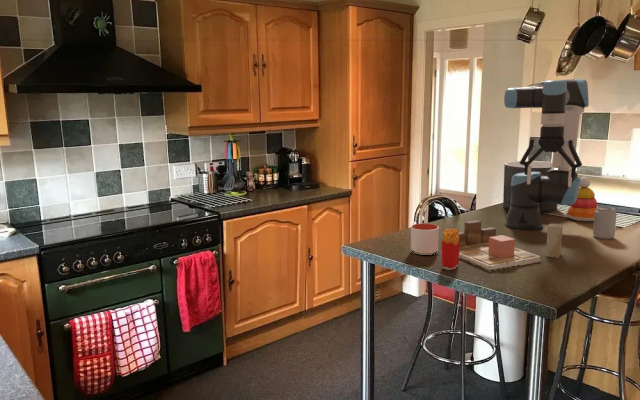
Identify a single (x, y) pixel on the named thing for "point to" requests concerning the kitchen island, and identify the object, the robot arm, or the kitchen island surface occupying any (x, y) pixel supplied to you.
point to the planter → (516, 168)
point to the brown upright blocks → (479, 239)
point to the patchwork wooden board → (485, 240)
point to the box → (554, 240)
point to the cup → (424, 238)
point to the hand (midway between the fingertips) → (548, 185)
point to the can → (604, 223)
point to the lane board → (504, 264)
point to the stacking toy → (583, 203)
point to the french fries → (450, 248)
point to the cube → (501, 246)
